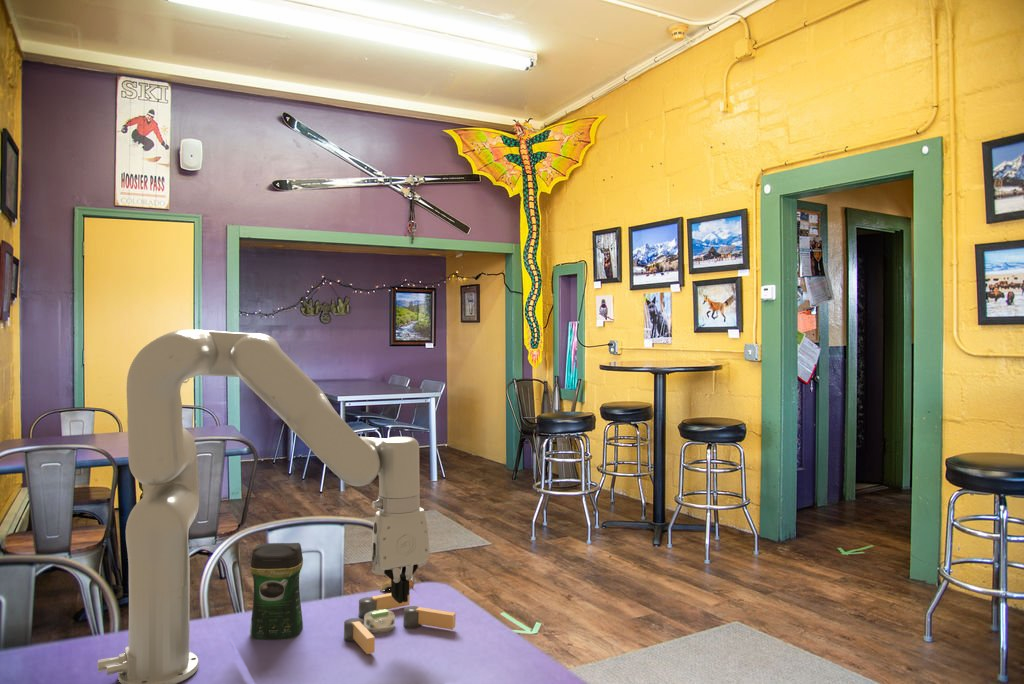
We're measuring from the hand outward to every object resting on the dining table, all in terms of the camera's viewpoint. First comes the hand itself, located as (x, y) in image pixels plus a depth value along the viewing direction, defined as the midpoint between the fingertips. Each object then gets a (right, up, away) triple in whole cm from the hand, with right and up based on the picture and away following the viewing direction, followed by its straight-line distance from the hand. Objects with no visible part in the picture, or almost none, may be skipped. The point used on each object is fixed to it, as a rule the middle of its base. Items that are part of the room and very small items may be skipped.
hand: (400, 600), depth 135 cm
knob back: (-6, -8, +15) cm, 18 cm away
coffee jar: (-25, -9, +5) cm, 27 cm away
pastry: (-5, -9, +29) cm, 31 cm away
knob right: (+5, -8, +7) cm, 12 cm away
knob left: (-7, -8, -1) cm, 11 cm away
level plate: (-5, -9, +7) cm, 13 cm away
